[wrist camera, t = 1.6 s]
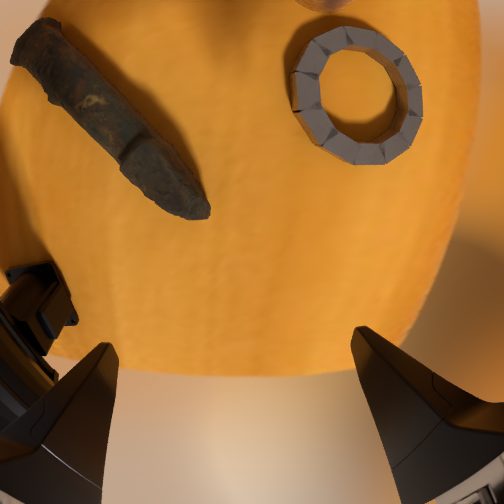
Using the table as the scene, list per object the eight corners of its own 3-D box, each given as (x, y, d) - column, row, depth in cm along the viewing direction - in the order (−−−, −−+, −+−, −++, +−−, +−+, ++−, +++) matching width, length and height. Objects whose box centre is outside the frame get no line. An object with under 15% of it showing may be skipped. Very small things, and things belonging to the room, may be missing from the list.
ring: (295, 164, 19) (302, 168, 17) (283, 27, 14) (289, 20, 13) (411, 161, 19) (422, 164, 18) (405, 44, 15) (416, 41, 13)
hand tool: (29, 63, 12) (-7, 58, 8) (64, 23, 11) (33, 8, 7) (180, 231, 20) (172, 261, 16) (222, 195, 19) (225, 217, 15)
